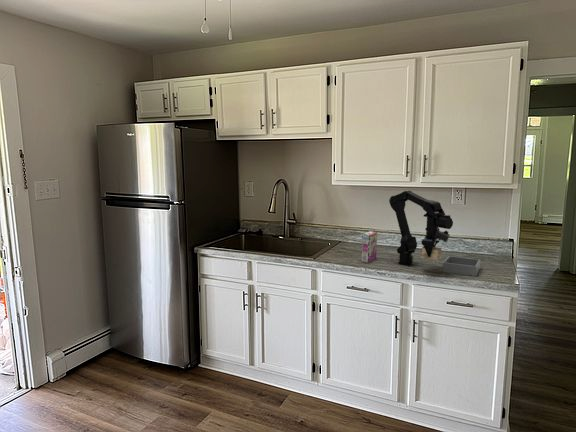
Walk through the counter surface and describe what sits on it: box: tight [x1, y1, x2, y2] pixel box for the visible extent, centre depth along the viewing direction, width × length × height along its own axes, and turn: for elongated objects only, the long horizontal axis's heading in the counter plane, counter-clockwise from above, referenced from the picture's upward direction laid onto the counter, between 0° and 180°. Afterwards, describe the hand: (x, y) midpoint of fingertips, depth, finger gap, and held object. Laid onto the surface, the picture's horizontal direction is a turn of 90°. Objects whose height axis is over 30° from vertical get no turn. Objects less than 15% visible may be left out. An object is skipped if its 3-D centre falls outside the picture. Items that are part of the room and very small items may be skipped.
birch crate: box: [420, 245, 443, 261], centre depth 213 cm, size 9×6×5 cm
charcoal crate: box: [442, 255, 481, 277], centre depth 215 cm, size 16×16×5 cm
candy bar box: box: [360, 230, 378, 264], centre depth 234 cm, size 11×5×16 cm, turn 145°
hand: (430, 255), depth 213 cm, fingers closed on birch crate, 6 cm apart
